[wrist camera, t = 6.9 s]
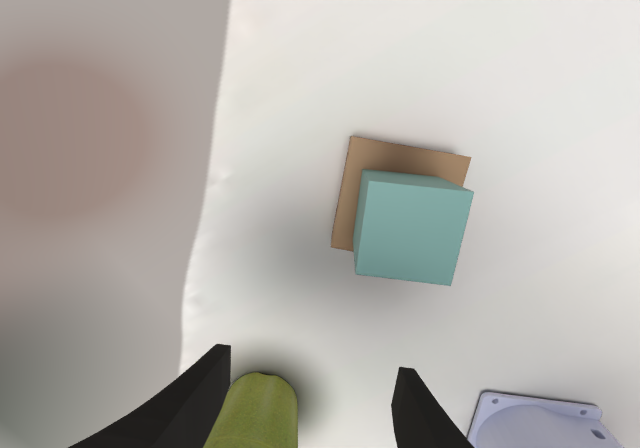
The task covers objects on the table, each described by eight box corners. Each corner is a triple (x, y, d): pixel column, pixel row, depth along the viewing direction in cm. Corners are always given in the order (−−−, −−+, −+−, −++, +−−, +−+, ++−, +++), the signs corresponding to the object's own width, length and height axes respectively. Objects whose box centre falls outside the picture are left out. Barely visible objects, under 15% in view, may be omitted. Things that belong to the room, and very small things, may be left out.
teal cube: (438, 176, 18) (473, 192, 13) (423, 247, 19) (450, 285, 14) (362, 168, 18) (369, 180, 13) (352, 239, 19) (355, 274, 14)
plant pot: (269, 334, 25) (233, 436, 16) (338, 409, 26) (338, 535, 18) (190, 387, 27) (123, 500, 18) (259, 453, 28) (226, 584, 20)
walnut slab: (452, 154, 20) (471, 157, 17) (425, 250, 22) (437, 266, 19) (350, 136, 20) (351, 136, 17) (331, 233, 22) (330, 247, 19)
